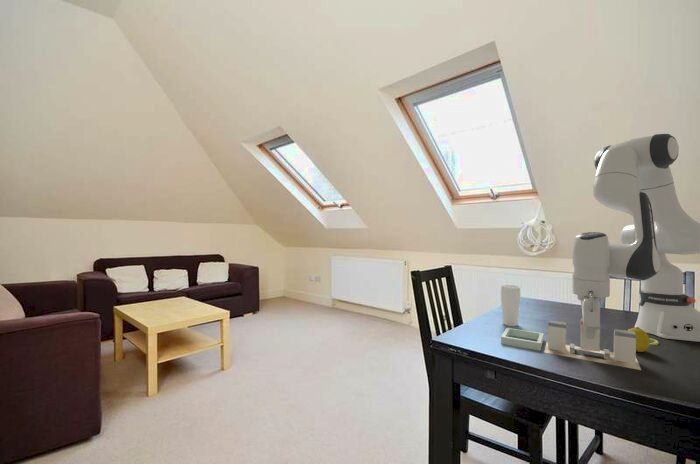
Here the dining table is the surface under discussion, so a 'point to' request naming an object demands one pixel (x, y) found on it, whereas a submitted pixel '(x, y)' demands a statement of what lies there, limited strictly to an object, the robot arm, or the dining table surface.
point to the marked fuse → (589, 343)
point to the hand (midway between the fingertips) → (589, 335)
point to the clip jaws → (606, 351)
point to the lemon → (641, 339)
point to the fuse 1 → (557, 335)
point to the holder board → (611, 361)
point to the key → (653, 341)
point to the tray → (521, 342)
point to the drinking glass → (510, 304)
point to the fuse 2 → (624, 346)
